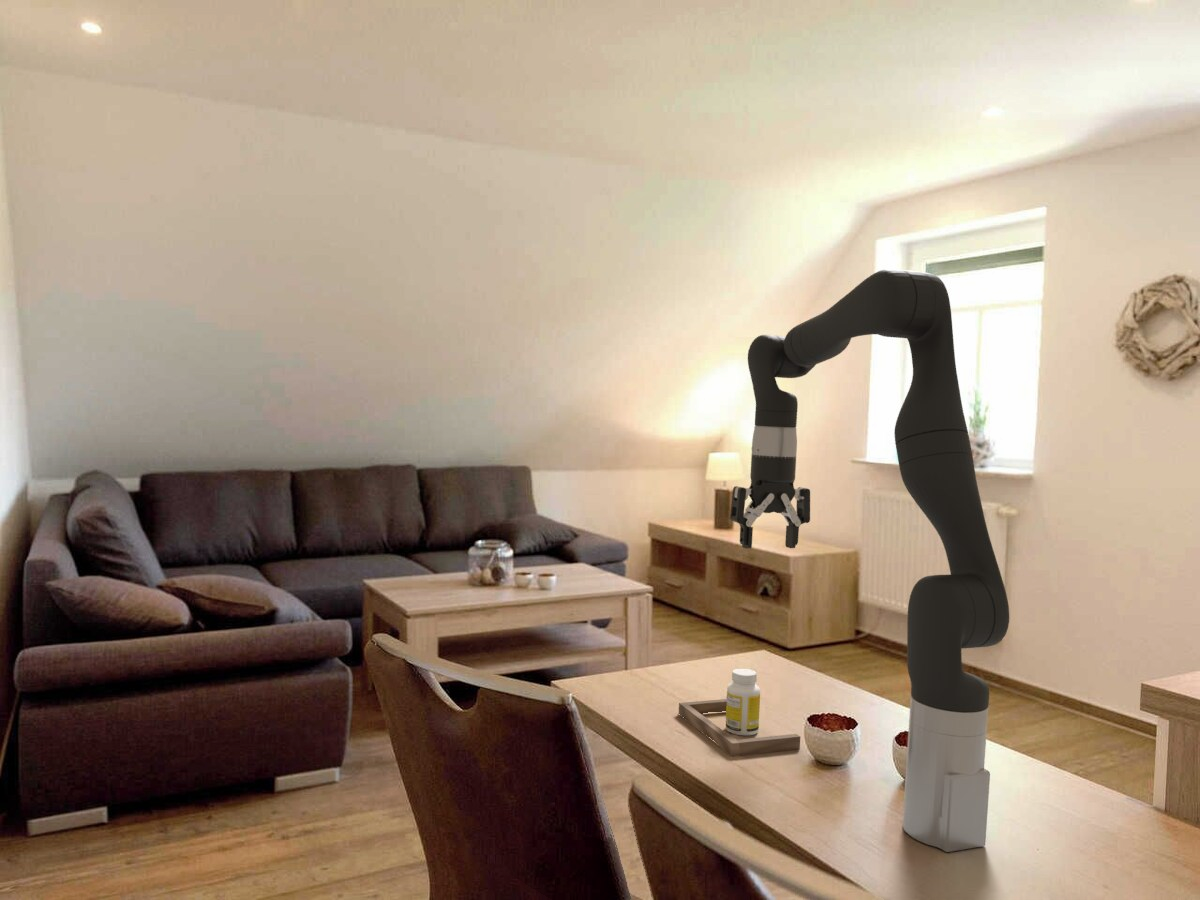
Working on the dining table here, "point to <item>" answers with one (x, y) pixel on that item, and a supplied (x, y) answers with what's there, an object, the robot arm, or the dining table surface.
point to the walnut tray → (725, 741)
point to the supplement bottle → (743, 703)
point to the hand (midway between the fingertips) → (768, 547)
